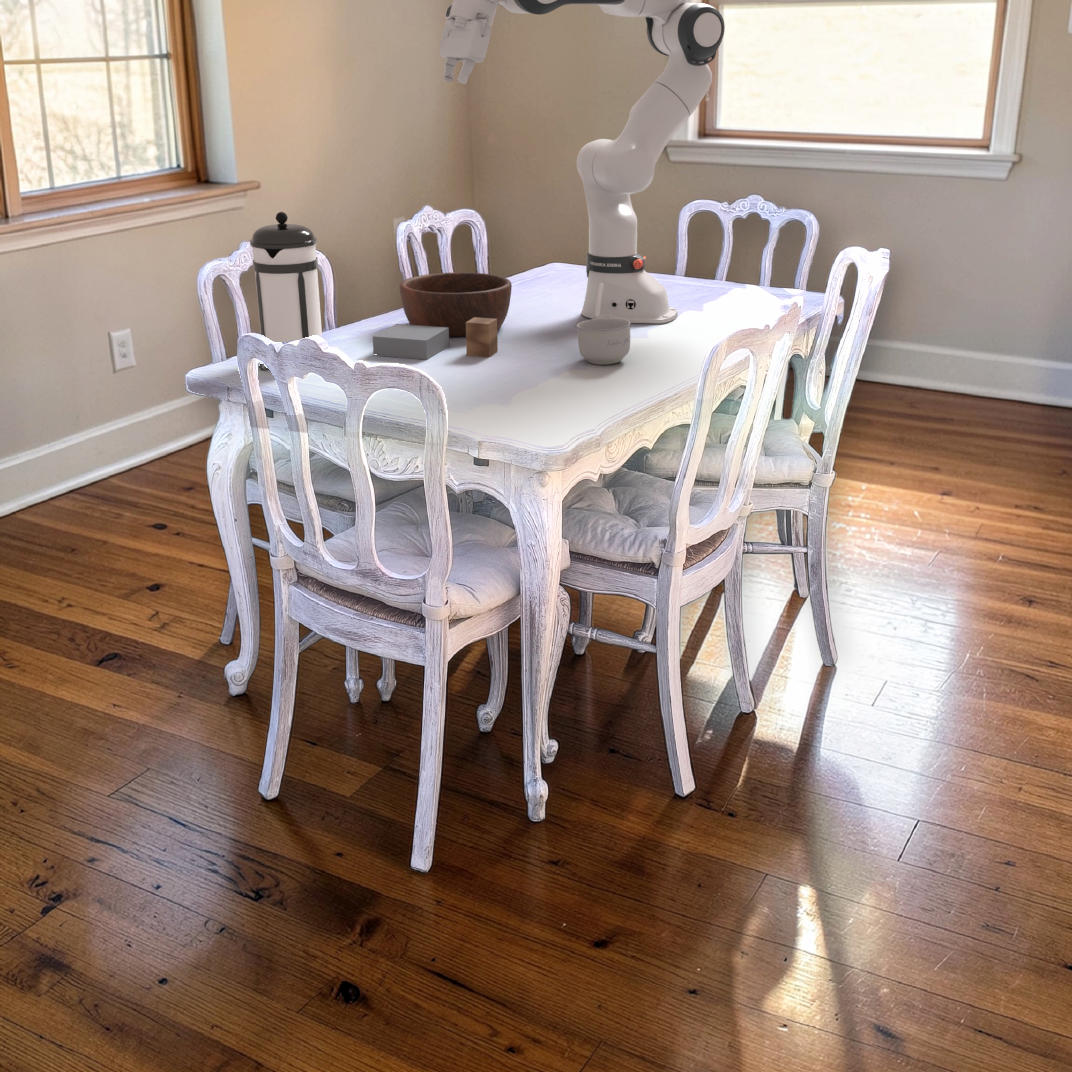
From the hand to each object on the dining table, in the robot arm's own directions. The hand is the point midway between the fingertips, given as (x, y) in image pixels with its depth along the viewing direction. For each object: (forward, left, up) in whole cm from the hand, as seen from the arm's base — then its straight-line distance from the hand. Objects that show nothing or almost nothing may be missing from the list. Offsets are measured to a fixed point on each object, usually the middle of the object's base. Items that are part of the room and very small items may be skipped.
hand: (454, 82), depth 253 cm
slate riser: (+2, +22, -52) cm, 57 cm away
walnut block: (-13, +20, -52) cm, 57 cm away
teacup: (-39, +17, -52) cm, 67 cm away
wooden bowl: (+1, -1, -52) cm, 52 cm away
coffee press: (+21, +38, -52) cm, 68 cm away
